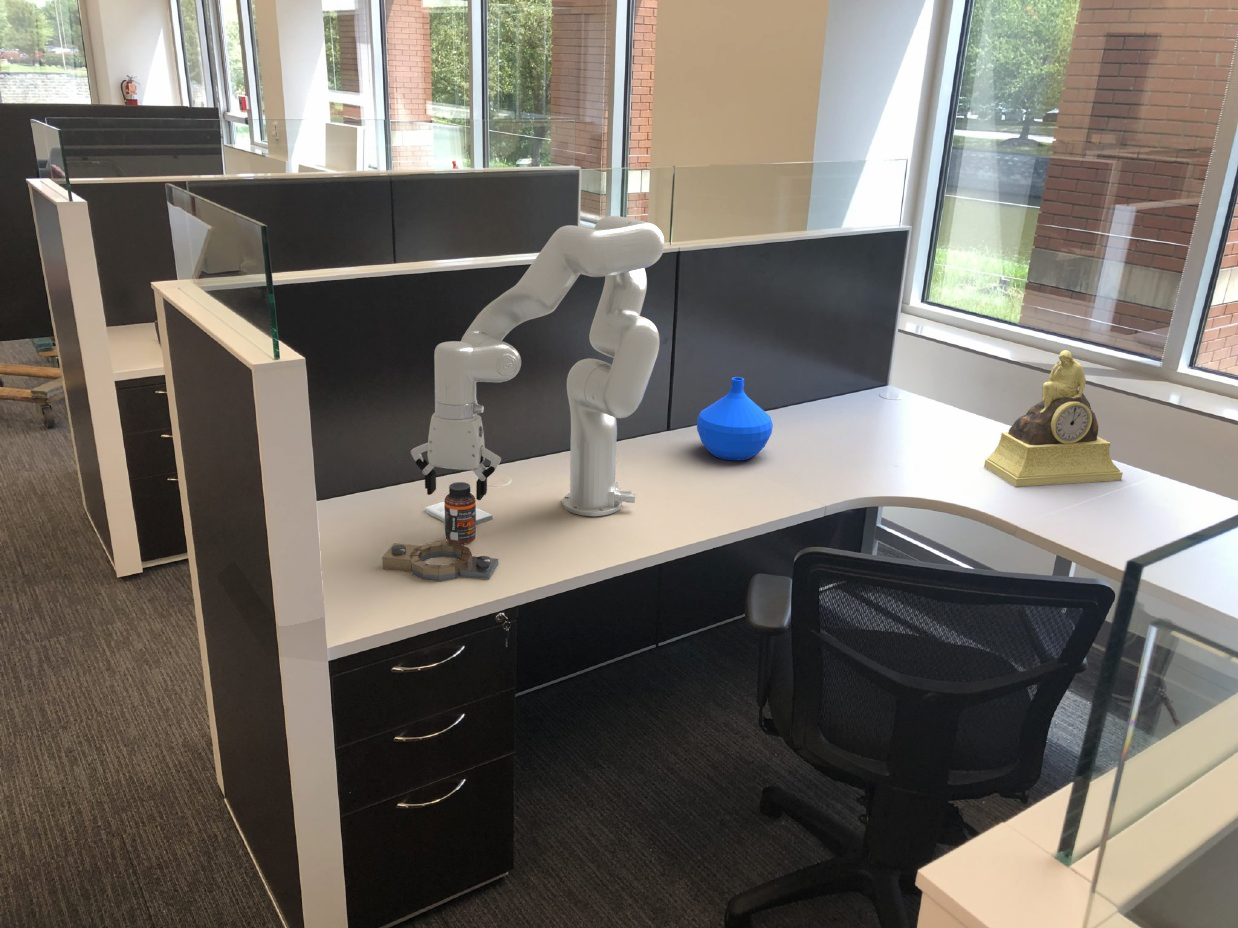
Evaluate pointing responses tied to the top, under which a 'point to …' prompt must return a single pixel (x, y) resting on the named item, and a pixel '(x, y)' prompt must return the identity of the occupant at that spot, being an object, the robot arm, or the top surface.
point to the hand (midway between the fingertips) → (456, 495)
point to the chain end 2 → (476, 569)
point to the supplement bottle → (460, 514)
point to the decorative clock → (1055, 437)
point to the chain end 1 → (410, 554)
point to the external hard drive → (439, 513)
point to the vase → (734, 425)
